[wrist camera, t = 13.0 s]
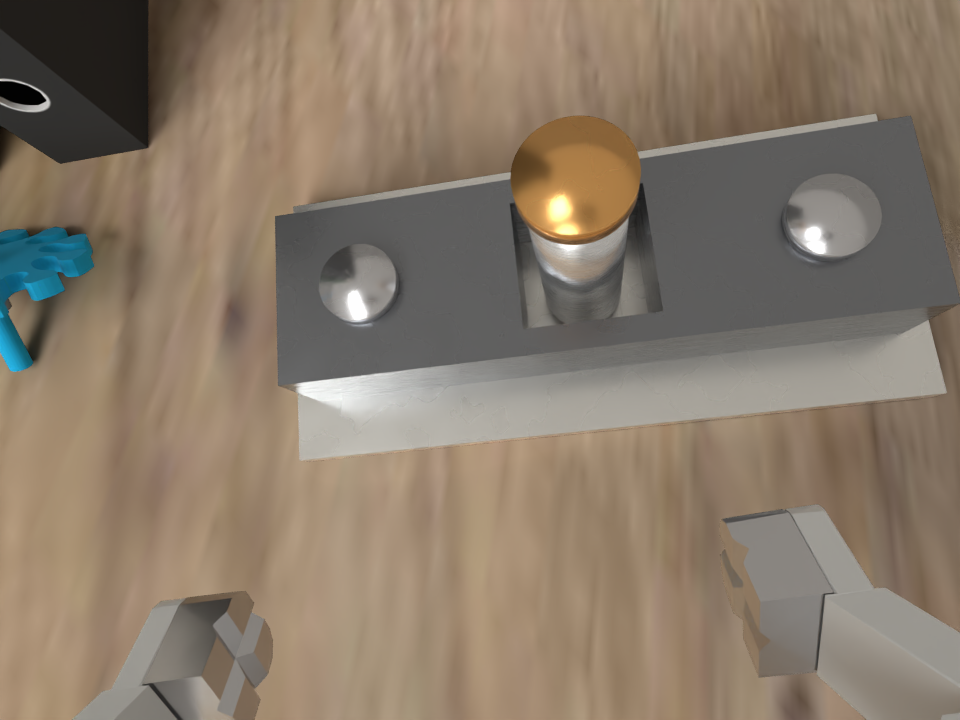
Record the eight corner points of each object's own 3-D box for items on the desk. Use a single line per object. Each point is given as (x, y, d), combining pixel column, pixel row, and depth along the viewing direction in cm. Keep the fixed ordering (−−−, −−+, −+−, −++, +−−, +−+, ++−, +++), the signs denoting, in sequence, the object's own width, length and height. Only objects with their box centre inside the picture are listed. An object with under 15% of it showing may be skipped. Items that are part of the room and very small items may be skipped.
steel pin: (640, 309, 27) (663, 198, 17) (561, 345, 27) (541, 254, 18) (603, 237, 28) (606, 95, 18) (527, 272, 28) (491, 150, 19)
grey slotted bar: (865, 126, 28) (932, 38, 23) (933, 397, 26) (1026, 369, 20) (302, 215, 32) (244, 157, 26) (308, 461, 29) (245, 452, 24)
